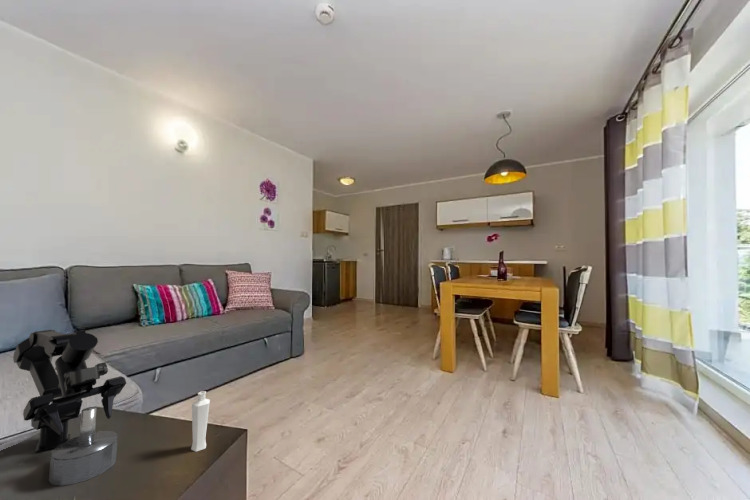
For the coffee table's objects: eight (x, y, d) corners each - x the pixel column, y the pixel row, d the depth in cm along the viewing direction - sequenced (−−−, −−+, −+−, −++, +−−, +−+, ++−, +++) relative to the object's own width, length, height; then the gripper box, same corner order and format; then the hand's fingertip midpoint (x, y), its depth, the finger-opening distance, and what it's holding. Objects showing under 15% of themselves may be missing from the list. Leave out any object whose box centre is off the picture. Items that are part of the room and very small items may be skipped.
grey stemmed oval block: (71, 457, 80) (75, 401, 81) (125, 451, 83) (129, 396, 84) (35, 489, 68) (40, 423, 69) (99, 480, 72) (104, 417, 73)
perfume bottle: (200, 453, 83) (203, 396, 84) (186, 451, 83) (189, 395, 84) (212, 444, 87) (215, 390, 88) (199, 442, 88) (202, 388, 89)
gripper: (31, 364, 72) (44, 424, 66) (125, 347, 88) (142, 394, 82) (18, 391, 75) (28, 450, 69) (111, 370, 92) (126, 417, 86)
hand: (86, 425), depth 77 cm, fingers open, 9 cm apart
